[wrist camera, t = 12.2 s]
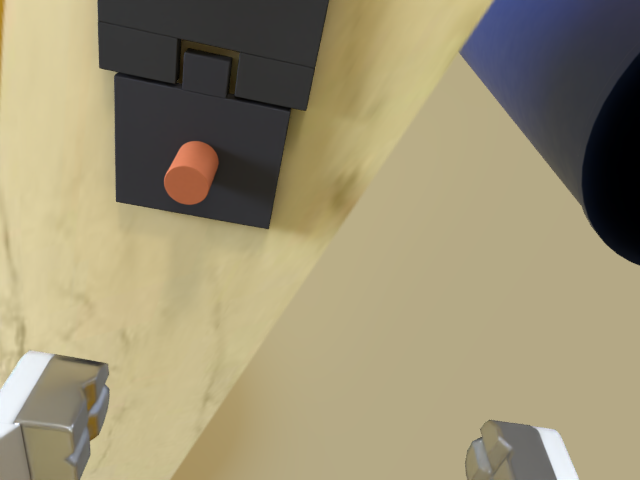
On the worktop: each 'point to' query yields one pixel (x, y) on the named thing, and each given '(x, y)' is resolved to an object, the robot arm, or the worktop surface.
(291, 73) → the notch pad
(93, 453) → the worktop surface
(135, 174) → the tab pad
